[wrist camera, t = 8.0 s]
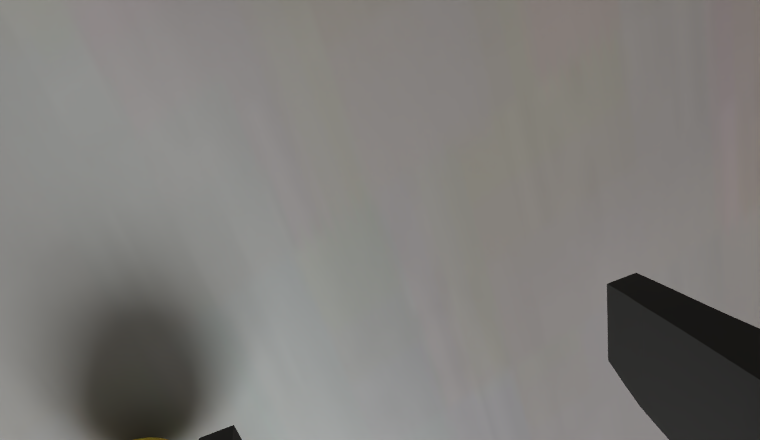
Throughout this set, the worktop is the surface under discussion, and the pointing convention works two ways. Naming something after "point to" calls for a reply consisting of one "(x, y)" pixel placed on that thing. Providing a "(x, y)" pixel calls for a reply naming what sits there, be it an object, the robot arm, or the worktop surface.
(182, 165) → the worktop surface
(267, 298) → the worktop surface
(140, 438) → the lemon
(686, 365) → the robot arm
